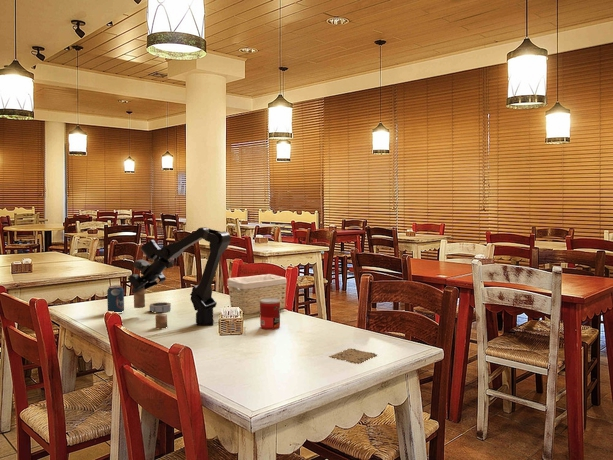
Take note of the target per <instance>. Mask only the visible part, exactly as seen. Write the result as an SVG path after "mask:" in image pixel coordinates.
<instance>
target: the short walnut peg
mask: <svg viewBox="0 0 613 460" xmlns="http://www.w3.org/2000/svg"><path fill="white" fill-rule="evenodd" d="M166 327H167V328H168V314H166V313H157V314H155V329H156V328H165V329H167V328H166Z"/></svg>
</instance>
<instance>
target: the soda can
mask: <svg viewBox="0 0 613 460" xmlns="http://www.w3.org/2000/svg"><path fill="white" fill-rule="evenodd" d="M124 291H125V290H124V288H123V286H122V285H118V284H117V285H109V286H108V289H107V291H106V294H107V297H106V298H107V301H106V302H107V312H108V311H114V312H122V311H123V312H124V311H125V299H124V298H125V292H124Z"/></svg>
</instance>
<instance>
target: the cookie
mask: <svg viewBox="0 0 613 460" xmlns="http://www.w3.org/2000/svg"><path fill="white" fill-rule="evenodd" d="M342 351H343V352H342ZM342 351H340V352H337V353H335V354H331V355H329V356H328V358H331V357H332V358H331V359H335V358H337V359H336V360H339V359H341V360H340V361H343V360H346V361H345V362H347V361H350V362H349V363H351V362H354V363H353V364H356V363H358V364H357V365H360V364H363V363H365V362H367V361H369V360H371V359H374V358H376V357H378V356H377V355H378V354H376V353H375V352H368V351H362V350H358V349H356V348H351V347H350V348H347V350H346V349H344V350H342ZM375 356H376V357H375ZM373 357H374V358H373ZM370 358H371V359H370ZM368 359H369V360H368ZM366 360H367V361H366ZM364 361H365V362H364ZM362 362H363V363H362ZM359 363H360V364H359Z"/></svg>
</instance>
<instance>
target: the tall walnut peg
mask: <svg viewBox="0 0 613 460" xmlns="http://www.w3.org/2000/svg"><path fill="white" fill-rule="evenodd" d="M145 293H146V291H145V288H143V289H141V290H139V291H138V292H136V293H133V308H134V309H144V308H145V307H146V299H145V298H146V297H145Z"/></svg>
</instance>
